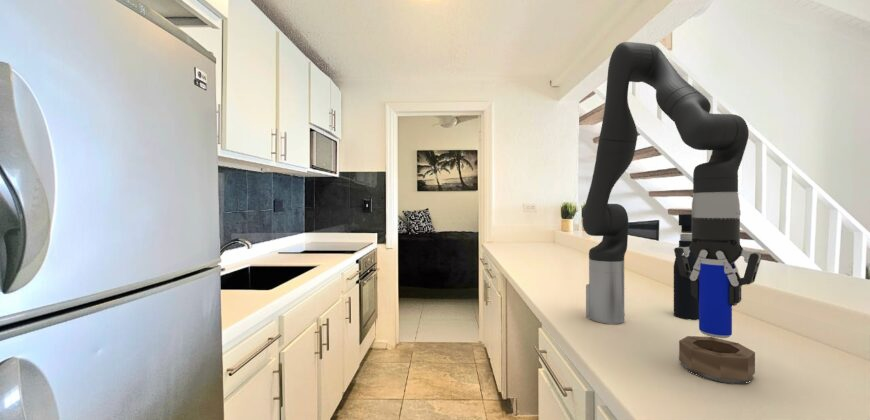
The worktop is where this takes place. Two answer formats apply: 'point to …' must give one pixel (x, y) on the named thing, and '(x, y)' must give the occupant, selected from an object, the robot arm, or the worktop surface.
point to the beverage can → (714, 300)
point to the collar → (717, 359)
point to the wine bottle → (682, 285)
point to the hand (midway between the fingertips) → (715, 301)
